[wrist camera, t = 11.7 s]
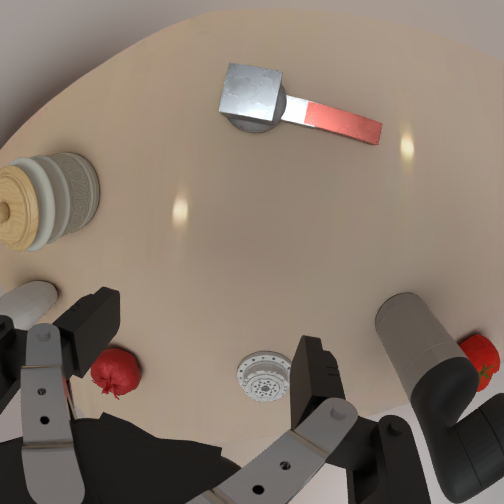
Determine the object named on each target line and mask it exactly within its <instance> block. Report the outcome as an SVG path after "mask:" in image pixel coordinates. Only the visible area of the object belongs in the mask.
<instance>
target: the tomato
mask: <svg viewBox="0 0 504 504" xmlns="http://www.w3.org/2000/svg"><path fill="white" fill-rule="evenodd" d="M459 347H460V348H461V349H462V351H463V352H464V353H465V355H466V356H467V357H468V358H469V360H470V361H471V362H472V364H473V365H474V366H475V368H476V369H477V371H478V374H479V386H478V390H477V392H479V391H481V390H483V389H484V388H486V386H487V385H488V384H489V382H490V380H491V377H492V375H493V373H496V372H497V371H499V367H500V357H499V354H498V351H497V350H496V348H495V346H494V345H493V344H492V342H491V341H490V340H489V339H487V338H486V337H484V336H482V335H473V336H471V337H470V338H469V339H467V340H466V341H464V342H462V343H461V344H460V345H459Z"/></svg>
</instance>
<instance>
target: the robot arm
mask: <svg viewBox="0 0 504 504" xmlns="http://www.w3.org/2000/svg"><path fill="white" fill-rule="evenodd" d="M119 326H120V293H119V291H117V290H113V289H110V288H107V287H101V288H100V289H99V290H98V291H97V292H96V293H95V294H89V295H87V296H84V297H82V298H80V299H79V300H78V301H77V302H76V303H75V304H74V305H72V306H71V307H70V308H69V309H68V310H67V311H65V312H64V313H63V314H62V315H61V316H60V317H59V318H58V319H57V320H55V321H54V322H53V323H52V324H49V323H40V324H36V325H34V326H33V327H31V328H30V329H29V331H27V330H21V329H16V328H15V327H14V323H13V320H12V318H10V317H9V316H7V315H0V414H1V413H2V412H3V410H4V409H5V407H6V406H7V405H8V403H9V402H10V401H11V399H12V398H13V397H14V395H15V394H16V393H17V391H18V390H19V389H20V387H21V415H22V429H23V436H22V437H19V438H15V439H12V440H9V441H5V442H1V443H0V504H288V503H289V502H290V501H291V500H292V499H293V498H294V497H295V496H296V495H297V494H298V493H299V492H300V490H302V488H303V487H304V486H305V485H306V484H307V483H308V482H309V481H310V480H311V479H312V478H313V476H314V475H315V474H316V473H317V472H318V471H319V470H320V468H321V467H322V466H323V465H324V464H325V463H328V464H331V465H335V466H338V467H341V468H345V469H346V474H347V489H348V504H431V500H430V496H429V492H428V488H427V484H426V480H425V476H424V472H423V468H422V465H421V461H420V457H419V454H418V451H417V447H416V444H415V440H414V437H413V434H412V430H411V428H410V426H409V424H408V423H407V422H406V421H405V420H404V419H403V418H401V417H399V416H395V415H386V416H384V417H382V418H381V419H380V420H379V422H375V421H372V420H369V419H365V418H363V417H360V416H358V413H357V410H356V408H355V407H354V406H353V405H352V404H351V403H350V402H348V401H346V398H345V394H344V390H343V386H342V382H341V377H340V373H339V370H338V365H337V361H336V359H335V358H334V356H333V355H332V354H331V352H330V351H325V350H323V348H322V343H321V339H320V338H317V337H311V336H305V335H303V336H302V337H301V339H300V342H299V345H298V347H297V350H296V353H295V356H294V358H293V361H292V364H291V368H290V374H289V379H290V406H291V429H289V430H288V431H287V432H285V433H284V434H283V435H282V436H281V437H280V438H279V439H277V440H276V441H275V442H274V443H273V444H272V445H270V446H269V447H268V448H267V449H266V450H264V451H263V452H262V453H261V454H259V455H258V456H257V457H256V458H255V459H253V460H252V461H251V462H249V463H248V464H247V465H246V466H244V467H243V468H241V467H240V466H239V465H237V464H236V463H234V462H233V461H231V460H229V459H227V458H225V457H222V456H221V451H222V448H221V447H217V446H212V445H207V444H203V443H199V442H194V441H188V440H172V439H161V438H156V437H154V436H153V435H151V434H149V433H147V432H146V431H144V430H142V429H140V428H139V427H137V426H135V425H134V424H132V423H131V422H128V421H125V420H123V419H120V418H117V417H115V416H112V415H110V414H107V413H105V412H103V413H102V415H101V417H100V418H99V419H94V418H81V419H77V415H76V411H75V406H74V401H73V395H72V389H71V383H70V379H69V378H70V377H71V376H72V375H75V376H77V377H80V378H83V377H84V375H85V374H86V373H87V371H88V370H89V369H90V367H91V366H92V365H93V363H94V362H95V361H96V359H97V358H98V357H99V355H100V354H101V353H102V351H103V350H104V349H105V348H106V346H107V345H108V344H109V342H110V341H111V340H112V339H113V337H114V336H115V335H116V333H117V332H118V329H119ZM375 326H376V330H377V332H378V334H379V337H380V339H381V341H382V343H383V345H384V347H385V349H386V351H387V353H388V355H389V357H390V359H391V362H392V364H393V366H394V368H395V370H396V372H397V374H398V377H399V379H400V381H401V383H402V385H403V388H404V390H405V392H406V394H407V396H408V399H409V401H410V403H411V405H412V408H413V410H414V412H415V414H416V416H417V419H418V421H419V424H420V426H421V429H422V431H423V434H424V437H425V440H426V443H427V446H428V449H429V453H430V457H431V460H432V464H433V468H434V471H435V474H436V477H437V480H438V483H439V485H440V487H441V490H442V492H443V493H444V495H445V497H446V498H447V499H448V500H449V501H451V502H452V503H455V504H458V503H462V502H464V501H467V500H468V499H470V498H472V497H474V496H475V495H477V494H479V493H480V492H482V491H483V490H485V489H486V488H488V487H489V486H491V485H492V484H494V483H495V482H497V481H498V480H500V479H501V478H502V477H504V393H499V394H496V395H495V396H493V397H492V398H490V399H489V400H488V401H486V402H485V403H484V404H482V405H481V406H480V407H478V409H476V410H474V411H473V412H471V413H470V414H469V415H468V416H466V417H465V418H463V419H462V420H460V421H459V422H458V423H456V422H457V421H458V419H459V417H460V416H461V414H462V413H463V411H464V410H465V409H466V407H467V406H468V405H469V404H470V402H471V401H472V399H473V398H474V396H475V394H476V392H477V390H478V386H479V374H478V371H477V369H476V368H475V366H474V365H473V364H472V362H471V361H470V360H469V358H468V357H467V356H466V355H465V353H464V352H463V351H462V349H461V348H460V347H459V346H458V344H457V343H456V342H455V340H454V339H453V338H452V337H451V335H450V334H449V333H448V332H447V330H446V329H445V328H444V327H443V325H442V324H441V323H440V322H439V321H438V319H437V318H436V317H435V316H434V315H433V313H432V312H431V311H430V310H429V308H428V307H427V306H426V305H425V304H424V303H423V301H422V300H421V299H420V298H419V297H418V296H416V295H414V294H411V293H402V294H399V295H396V296H394V297H392V298H390V299H389V300H388V301H386V302H385V304H384V305H383V306H382V307H381V308H380V310H379V312H378V314H377V316H376V321H375Z"/></svg>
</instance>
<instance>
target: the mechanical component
mask: <svg viewBox="0 0 504 504" xmlns="http://www.w3.org/2000/svg"><path fill="white" fill-rule="evenodd" d="M291 364H292V363H291V361H290V360H288V359H287V358H286V357H285V356H283V355H281V354H279V353H274V352H270V351H263V352H256V353H254V354H251V355H249V356H247V357H246V358H244V359H243V360H242V362H241V363H240V365H239V368H238V373H237V377H238V381H239V383H240V384H241V386H242V387H243V389H244V391H245V393H246V395H248V396H250V397H251V398H253V400H258V401H259V402H261V401H263V402H266V401H276V399H279V398H280V397H282V396H284V394H285V393H287V389H288V388H289V387H290V379H289V374H290V368H291Z"/></svg>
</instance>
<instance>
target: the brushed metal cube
mask: <svg viewBox="0 0 504 504" xmlns="http://www.w3.org/2000/svg"><path fill="white" fill-rule="evenodd" d="M282 73H283V72H281V71H277V70H271V69H266V68H260V67H254V66H248V65H241V64H234V63H229V67H228V71H227V75H226V80H225V84H224V88H223V93H222V97H221V101H220V106H219V110H218V111H219V112H220V113H221V114H223V115H224V116H225V117H227V118H231V119H237V120H242V121H248V122H253V123H258V124H263V125H268V126H272V125H273V120H274V116H275V111H276V106H277V102H278V97H279V93H280V88H281V83H282Z"/></svg>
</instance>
